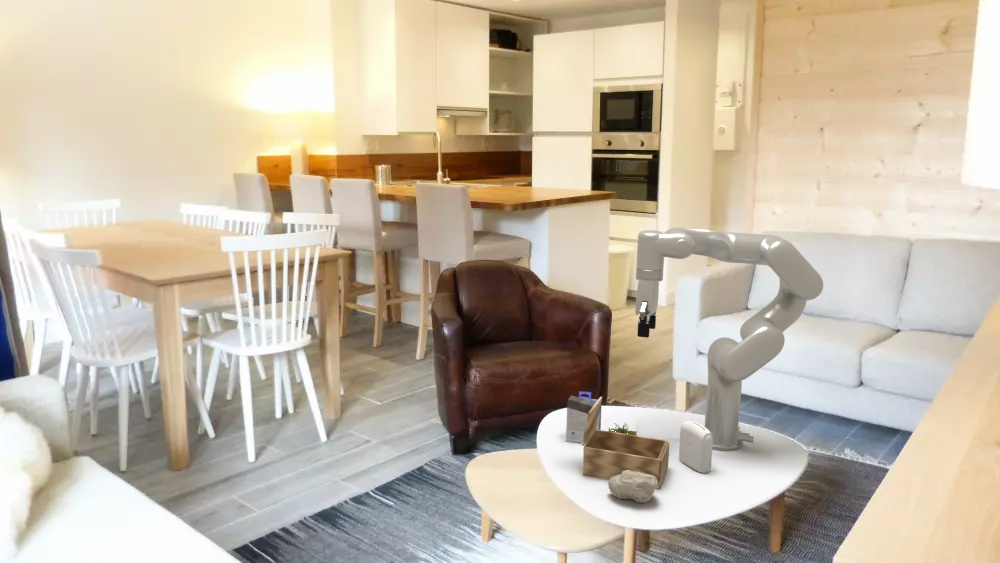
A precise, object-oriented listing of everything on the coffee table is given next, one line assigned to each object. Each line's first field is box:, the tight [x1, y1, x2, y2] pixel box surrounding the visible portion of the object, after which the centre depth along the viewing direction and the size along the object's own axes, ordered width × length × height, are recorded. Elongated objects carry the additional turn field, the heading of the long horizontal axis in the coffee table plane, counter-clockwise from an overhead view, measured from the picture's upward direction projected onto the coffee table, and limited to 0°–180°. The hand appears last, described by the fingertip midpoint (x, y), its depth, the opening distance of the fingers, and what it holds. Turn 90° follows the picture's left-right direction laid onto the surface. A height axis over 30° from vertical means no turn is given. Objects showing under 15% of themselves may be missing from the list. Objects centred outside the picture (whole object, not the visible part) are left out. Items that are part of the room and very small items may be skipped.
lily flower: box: [608, 420, 638, 436], centre depth 226 cm, size 12×12×5 cm
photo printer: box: [678, 420, 713, 474], centre depth 206 cm, size 10×4×12 cm, turn 26°
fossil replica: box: [607, 470, 660, 504], centre depth 188 cm, size 12×8×10 cm
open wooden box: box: [582, 429, 670, 490], centre depth 203 cm, size 21×13×8 cm, turn 69°
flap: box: [566, 395, 603, 447], centre depth 205 cm, size 10×13×8 cm
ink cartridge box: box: [565, 390, 602, 444], centre depth 222 cm, size 10×6×14 cm, turn 79°
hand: (646, 332), depth 217 cm, fingers open, 9 cm apart
